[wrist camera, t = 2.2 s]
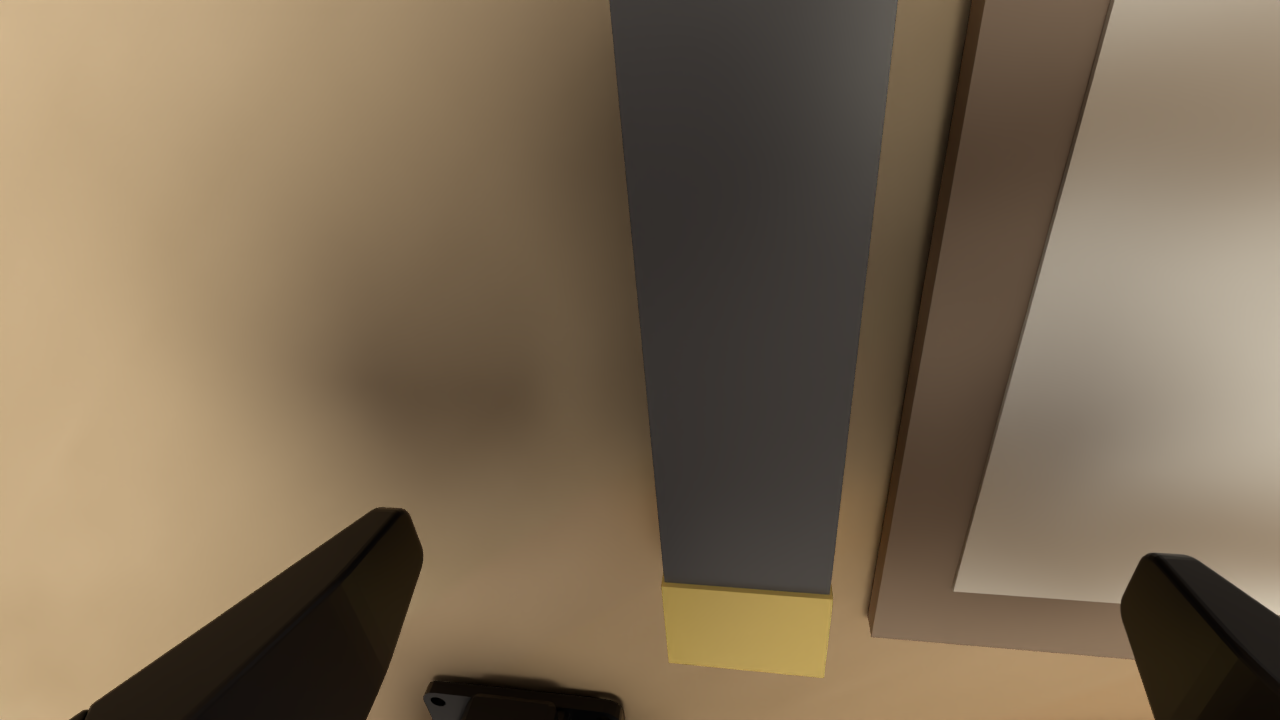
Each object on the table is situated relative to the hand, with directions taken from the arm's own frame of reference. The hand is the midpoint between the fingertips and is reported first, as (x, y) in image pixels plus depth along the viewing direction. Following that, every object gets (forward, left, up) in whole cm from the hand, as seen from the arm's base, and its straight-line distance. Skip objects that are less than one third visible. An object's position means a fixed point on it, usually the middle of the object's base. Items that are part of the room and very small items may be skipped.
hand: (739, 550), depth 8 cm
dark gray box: (0, 0, -5) cm, 5 cm away
